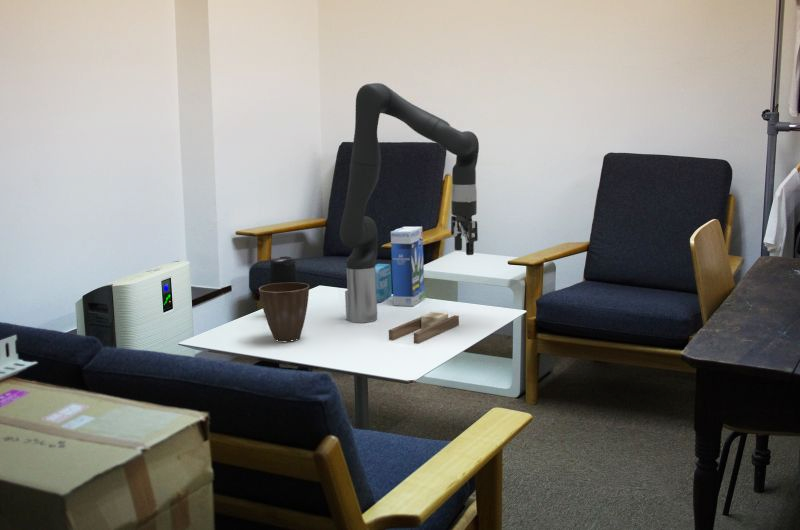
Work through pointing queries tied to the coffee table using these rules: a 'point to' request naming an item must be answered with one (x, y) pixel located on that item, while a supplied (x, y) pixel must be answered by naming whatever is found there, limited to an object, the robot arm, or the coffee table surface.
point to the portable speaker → (282, 270)
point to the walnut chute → (425, 332)
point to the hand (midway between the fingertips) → (464, 252)
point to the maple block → (432, 319)
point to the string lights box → (407, 266)
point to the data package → (383, 282)
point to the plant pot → (285, 308)
